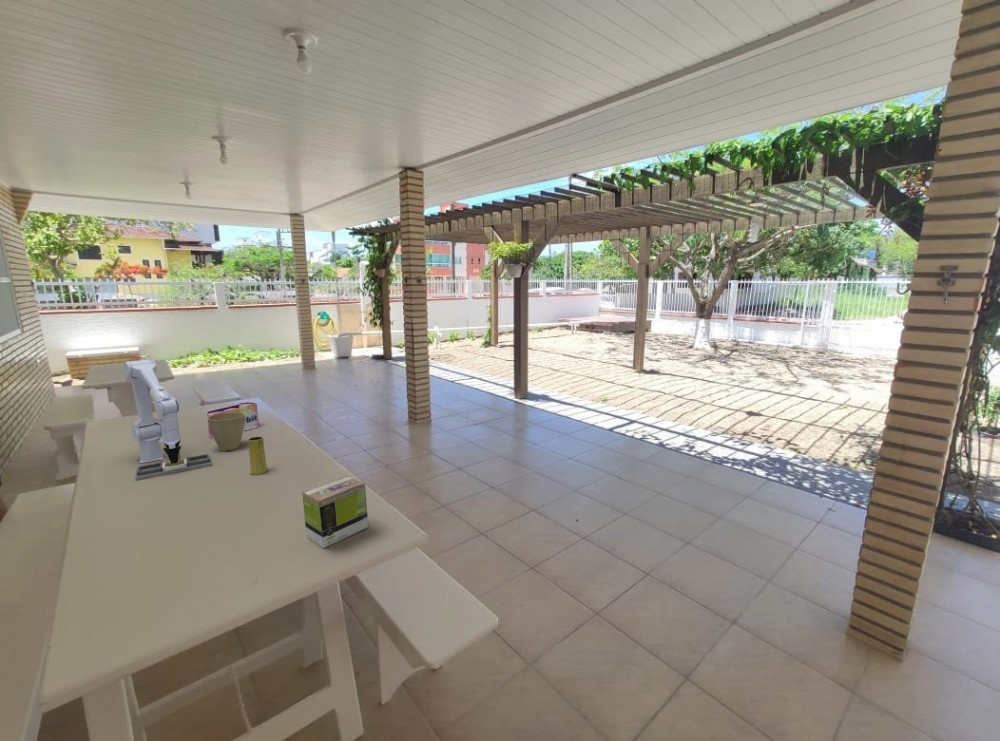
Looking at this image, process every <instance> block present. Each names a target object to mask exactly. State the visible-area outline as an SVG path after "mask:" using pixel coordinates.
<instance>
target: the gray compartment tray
mask: <svg viewBox="0 0 1000 741" xmlns="http://www.w3.org/2000/svg"><path fill="white" fill-rule="evenodd" d="M207 466H209V467H213V461H212V458H211V456H210V454H209V453H207V454H201V455H196V456H195V455H194V456H190V457H184V458H181V464H179V465H173V466H168V462H167V461H163V462H157V463H156V462H155V463H151V464H145V465H139V466H137V468H136V471H135V472H136V473H135V481H141V480H146V479H151V478H157V477H156V476H158V477H162V476H161V475H163V476H167V474H168V475H172V473H173V474H178V473H182V471H183V472H187V471H188V470H189V471H193V470H192V469H194V470H198V469H197V468H199V469H203V468H202V467H204V468H208V467H207ZM177 472H178V473H177Z"/></svg>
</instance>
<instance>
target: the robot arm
mask: <svg viewBox="0 0 1000 741" xmlns="http://www.w3.org/2000/svg"><path fill="white" fill-rule="evenodd" d="M157 368H158V367H157V363H156V361H155V360H154V359H152V358H150V359H142V360H131V361H127V360H126V361H124V363H123V367H122V369H123V370H122V371H123V374H124V378H125V381H128V382H130V384H131V388H132V391H133V392H132V393H133V397H134V403H135V406H136V407H135V408H136V412H137V418H138V419H137V420H135V421H134V422H133V423H132V424H131V435H132V436H131V437H132V438H133V440H134V441H136V442H137V443H138V445H139V446H138V447H139V453H140V458H139V464H145V463H146V464H147V463H150V462H151V463H152V462H156V461H157V462H158V461H161V460H164V452H165V453H167V455H168V457H169V460H170V462H171V464H175V463H178V455H179V451H181V449H182V445H180V443H181V440H182V438H181V435H180V426H179V418H178V413H179V411H180V403H179V402H178V400H177V398H175V397H174V396H171V394H170V393H169V391H168V390H167V388H166V387H165V386H164V385H161V383H160V382H159V379H158V377H157V370H158V369H157ZM148 388H149V391H148ZM150 397H151V399H152V402H153V403H154V405H155V412H156V413H157V417H158V418H157V417H155V416H153V411H152V406H151V405H152V404H151V401H150V400H151V399H150ZM162 444H163V445H164V446H165V447H163V451H164V452H162V446H161V445H162ZM167 455H166V456H167Z"/></svg>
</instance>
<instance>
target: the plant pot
mask: <svg viewBox="0 0 1000 741" xmlns="http://www.w3.org/2000/svg"><path fill="white" fill-rule="evenodd" d="M244 422H245V413H241V412H229V413H221V414H216V415H212V416H209V417H208V416H207V424H208V423H209V426H210V429H211V432H212V435H213V437H214V438H213V439H214V442H215V443H216V445H217V447H218V449H219V450H220V451H221V450H222V452H228V451H227V450H232V451H234V450H233V449H235V450H237V449H236V448H238V447H240V444H241V443H242V442H241V441H242V438H243V435H244V434H243V433H244V432H243V429H244ZM238 449H239V448H238Z"/></svg>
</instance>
